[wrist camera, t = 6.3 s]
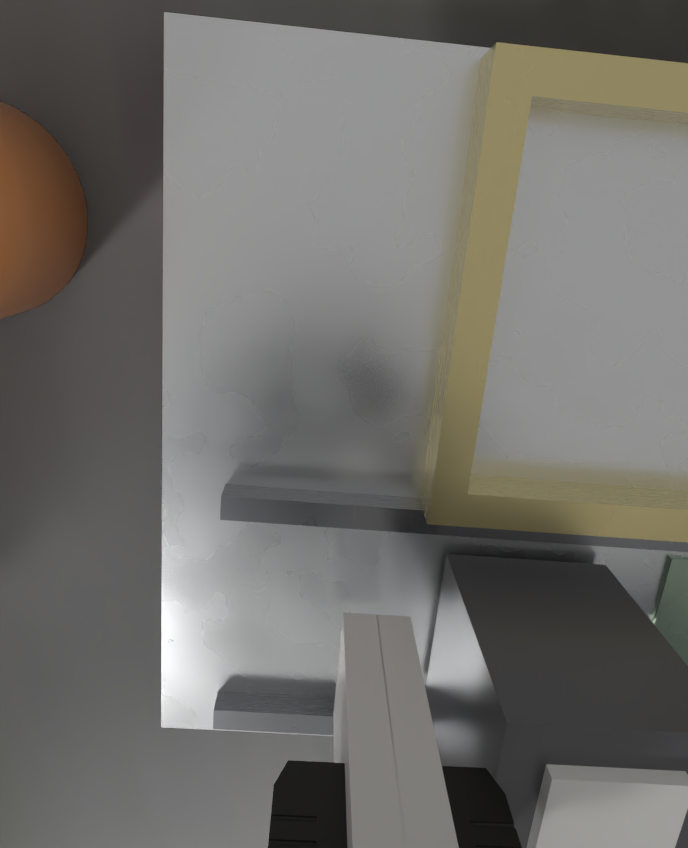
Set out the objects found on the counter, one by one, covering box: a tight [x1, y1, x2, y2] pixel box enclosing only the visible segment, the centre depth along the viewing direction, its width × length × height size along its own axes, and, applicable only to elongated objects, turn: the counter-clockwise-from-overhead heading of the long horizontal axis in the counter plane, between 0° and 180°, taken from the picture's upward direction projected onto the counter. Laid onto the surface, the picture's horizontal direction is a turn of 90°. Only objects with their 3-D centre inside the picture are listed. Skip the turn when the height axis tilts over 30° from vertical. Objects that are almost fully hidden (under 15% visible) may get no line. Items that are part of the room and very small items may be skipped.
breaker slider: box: [425, 554, 688, 848], centre depth 14 cm, size 4×4×6 cm
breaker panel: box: [161, 12, 688, 737], centre depth 15 cm, size 16×17×3 cm
